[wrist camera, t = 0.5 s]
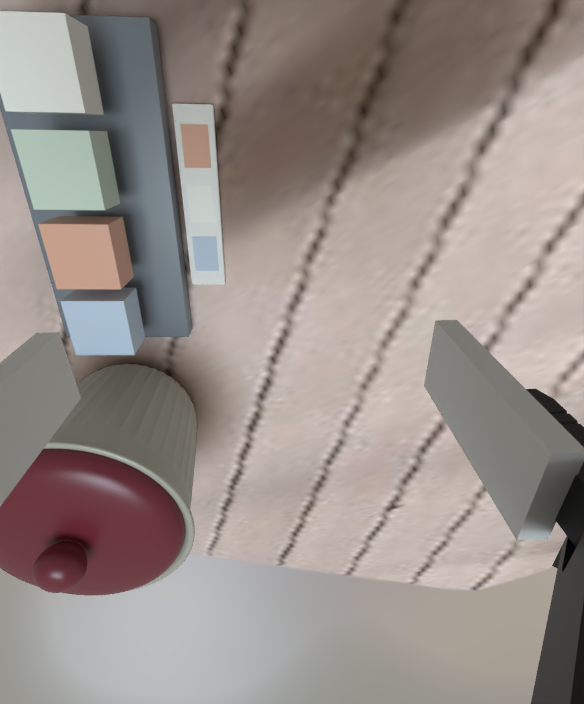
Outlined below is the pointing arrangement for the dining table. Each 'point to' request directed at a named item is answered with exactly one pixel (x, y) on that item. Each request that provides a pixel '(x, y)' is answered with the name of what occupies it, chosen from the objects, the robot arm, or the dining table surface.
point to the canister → (107, 489)
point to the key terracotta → (87, 252)
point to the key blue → (104, 321)
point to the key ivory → (47, 65)
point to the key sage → (67, 169)
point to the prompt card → (200, 190)
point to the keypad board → (129, 167)
